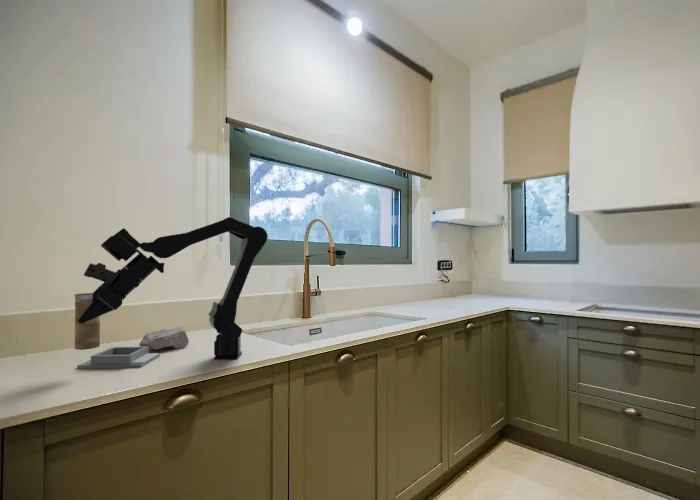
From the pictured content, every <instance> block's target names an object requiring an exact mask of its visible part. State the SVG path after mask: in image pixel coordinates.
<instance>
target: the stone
mask: <svg viewBox="0 0 700 500" xmlns="http://www.w3.org/2000/svg"><path fill="white" fill-rule="evenodd" d="M189 343H190V342H189V338H188V335H187V333H186V329H185V328H184V327H183V326H180V327H179V326H178V327H175V328H168V329H167V328H166V329H165V328H164V329H160V330H153V331H151V332H147V333H146V334H144V335H143V337H142V339H141V340H140V342H139V344H138V347H146V346H149V351H153V350H161V349H163V348H166V347H168V348H174V349H183V348H186V347H187V346H188V345H189Z"/></svg>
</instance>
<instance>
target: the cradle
mask: <svg viewBox="0 0 700 500" xmlns="http://www.w3.org/2000/svg"><path fill="white" fill-rule="evenodd" d="M149 351H150V350H149V346H146V347H141V346H113V347H110V348H107V349H105V350H102V351H100V352H97V353H95V354H93V355H91V356H90V359H89V360H87V361H85V362H82V363H80V364H77V366H76V369H77V370H78V369H118V368H119V369H121V368H122V369H124V368H127V369H128V368H129V369H130V368H132V369H133V367H134V368H143V367H145V366H146V365H148V364H149V363H151V362H153V361H154V360H157V359H158V358H159V357H161V353H157V352H156V353H154V352H153V353H150V352H149Z"/></svg>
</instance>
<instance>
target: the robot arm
mask: <svg viewBox="0 0 700 500" xmlns="http://www.w3.org/2000/svg"><path fill="white" fill-rule="evenodd" d="M225 233H229V234H231V235H233V236H234V237H236V238H238V239H241V243H240V253H239V256H238V259H237V262H236V265H235V267H234V269H233V271H232V274H231V276H230V277H229V281H228V283H227V287H226V288H225V291H224V294H223V296H222V298H221V299H220V300H219V302H216V301H213V303H212V306H211V310H210V311H209V313H208V316H209V318H208V322H209V324H210V326H211V327H212V328H213V329H214V330H216V333H217V335H216V336H215V340H214V341H213V343H214V348H213V349H214V350H213V351H214V353H213V355H214V357H213V359H214V360H228V359H229V360H231V359H232V360H233V359H239V357H240V356H241V355H242V353H243V351H241V350H242V349H241V347H242V346H241V342H242V341H241V339H242V338H241V336H242V332H243V328H241V326H239V325H238V324H237V323H236V316H237V310H238V309H237V305H238V301H239V299H240V295H241V293H242V290H243V288H244V286H245V283H246V282H247V281H246V280H247V278H248V276H249V273H250V271H251V268H252V266H253V263H254V260H255V258H256V257H257V255H259V252H261V251H262V249H263V247H264V246H265V244H266V243H267V240H268V238H269V237H268V234H267V233H268V232H267V231H266V229H265V228H263V227H261V226H253V225H250V224H248V223H245V222H242V221H239V220H238V219H235V218H234V217H231V216H230V217H226V218H224V219H222V220H220V221H217V222H213V223H211V224H208V225H204V226H201V227H199V228H197V229H193V230H190V231H188V232H183V233H177V234H170V235H164V236H159V237H157V238H155V240H153V241H150V242H149V241H148V242H145V241H143V242H139V241H138V239H136V238H135V237H134V236H132V235H131V234H130V233H129V231H128V230H127V229H126V228H122V229H120V230H119V231H117V232H116V233H115V234H114V235H111V236H109V237H108V238H107V239H106V240H105V241H104V242H103V243H102V244H101V245H100V247H101V248H103V250H105V251H106V252H107V253H109V255H111V256H112V257H113V258H114V259H115V260H117V261H118V262H120V261H121V260H124V261H125V262H127V261H128V260H129V259H131V258H132V256H134V255H135V254H136V253H137V255H136V256H134V257H133V258H132V259H131V260H130V261H129V262H128V263H127V264H125V265H124V266H123V267H122V268H119V269H117V270H116V271H113V270H111V269H108V268H107V267H106V264H104V263H101V262H98V263H96V264H95V263H92V262H90V263H89V264H88V266H87V268H86V269H85V271H84V273H83V276H85V277H87V278H92V279H95V280H98V281H101V282H102V284H101V285H99V286H98V287H97V288H96V289H95V290H94V291H93V292H92V293H93V294H92V295H93V302H92V304H91V305H90V306H89V307H88V309H87V310H86V311H85V312H84V313H83V315H82V316H81V317H80V318H79V320H78V322H80V323H81V324H82V323H84V322H87V321H89V320H91V319H94V318H96V317H98V316H100V317H101V316H103V315H105V314H107V313H110V312H113V311H114V310H115V311H116V310H117V309H118V308H120V307H121V306H122V305H123V301H124V300H125V299H126V298H127V296H128V295H129V294H130V293H132V292H133V291H134V290H135V289H136V288H138V287H139V286H140V284H142V282H144V281H145V280H146V279H147V278H148V277H150V275H152V274H153V273H154V272H155V271H156V270H157V271H158V272H160V273H161V274H164V273H165V270H164V269H165V268H164V266H165V262H159V261H158V259H156V258H159V259H168V258H171V257H172V256H174V255H176V254H177V253H179V252H181V251H182V250H185V249H186V248H188V247H190V246H191V245H194V244H197V243H200V242H203V241H206V240H208V239H211V238H214V237H216V236H219V235H223V234H225ZM138 248H139V249H140V250H141V251H142V252H141V251H140V250H139V249H138ZM143 252H146V253H151V254H152V255H153V256H152V255H150V256H149V257H147V256H146V255H145V254H143ZM154 256H155V257H156V258H154Z"/></svg>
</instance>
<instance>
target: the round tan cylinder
mask: <svg viewBox="0 0 700 500" xmlns="http://www.w3.org/2000/svg"><path fill="white" fill-rule="evenodd" d="M92 294H93V292H87V293H86V292H85V293H83V292H82V293H75V294H74V350H77V351H79V350H92V349H95V348H99V347H100V346H101V342H100V341H101V316H98V317H96V318H94V319H91V320H89V321H87V322H84V323H82V324H81V323H80V322H78V320H79V318H80V317H81V316H82V315H83V313H84V312H85V311H86V310H87V309H88V307H89V306H90V305H91V304H92V302H93V295H92Z"/></svg>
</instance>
